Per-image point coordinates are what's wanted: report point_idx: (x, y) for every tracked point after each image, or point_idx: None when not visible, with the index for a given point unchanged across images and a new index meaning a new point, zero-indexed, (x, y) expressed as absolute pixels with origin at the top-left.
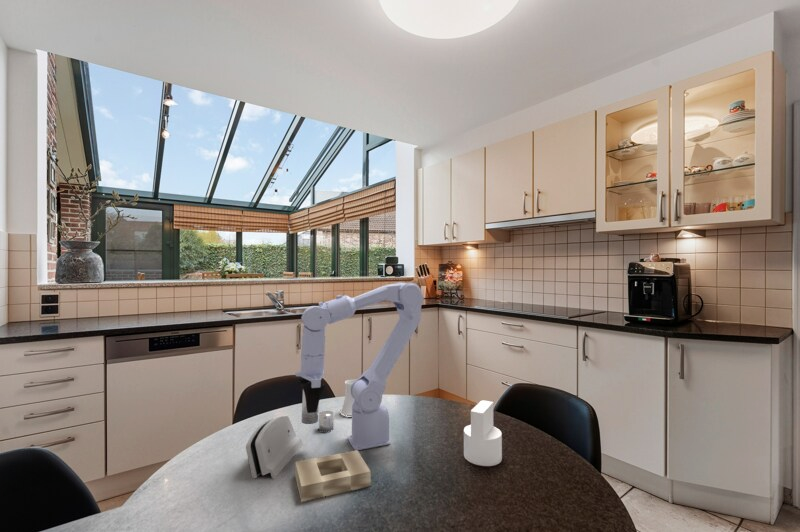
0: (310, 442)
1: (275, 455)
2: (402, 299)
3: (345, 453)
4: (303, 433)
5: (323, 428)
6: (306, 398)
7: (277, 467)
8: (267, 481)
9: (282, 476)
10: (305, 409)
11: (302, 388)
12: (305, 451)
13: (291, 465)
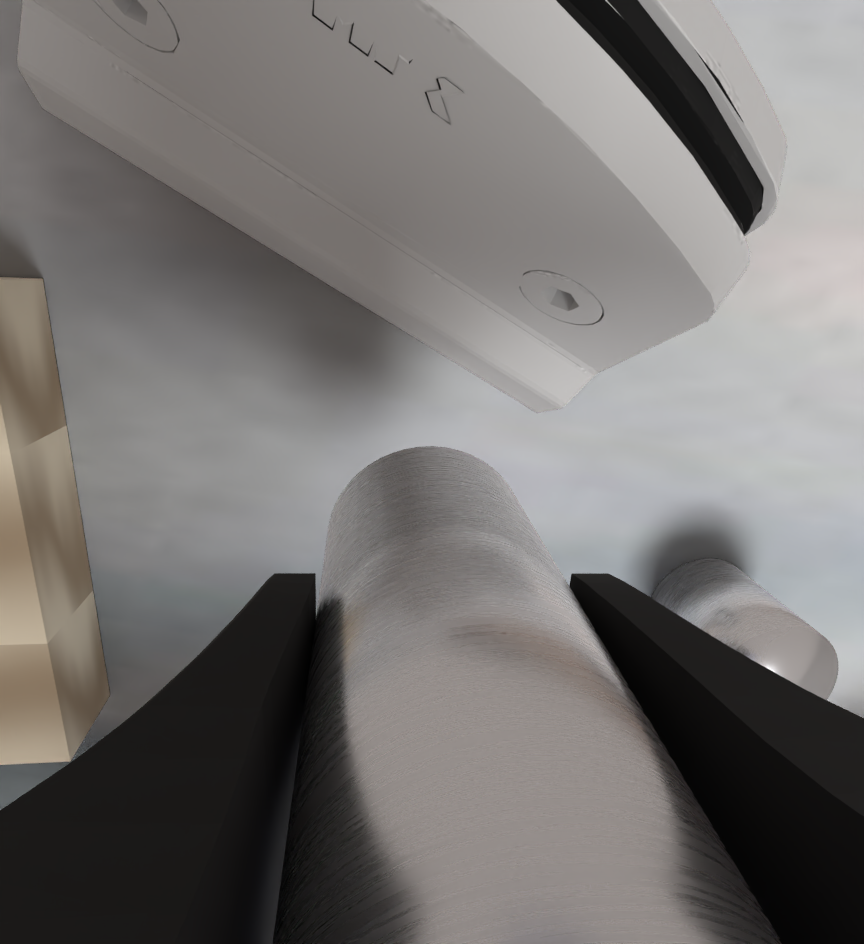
0: (544, 469)
1: (220, 117)
2: None
3: (33, 681)
4: (724, 443)
5: (675, 595)
6: (104, 742)
7: (112, 134)
8: (8, 38)
9: (62, 178)
10: (355, 563)
11: (815, 760)
12: (413, 412)
13: (223, 275)
